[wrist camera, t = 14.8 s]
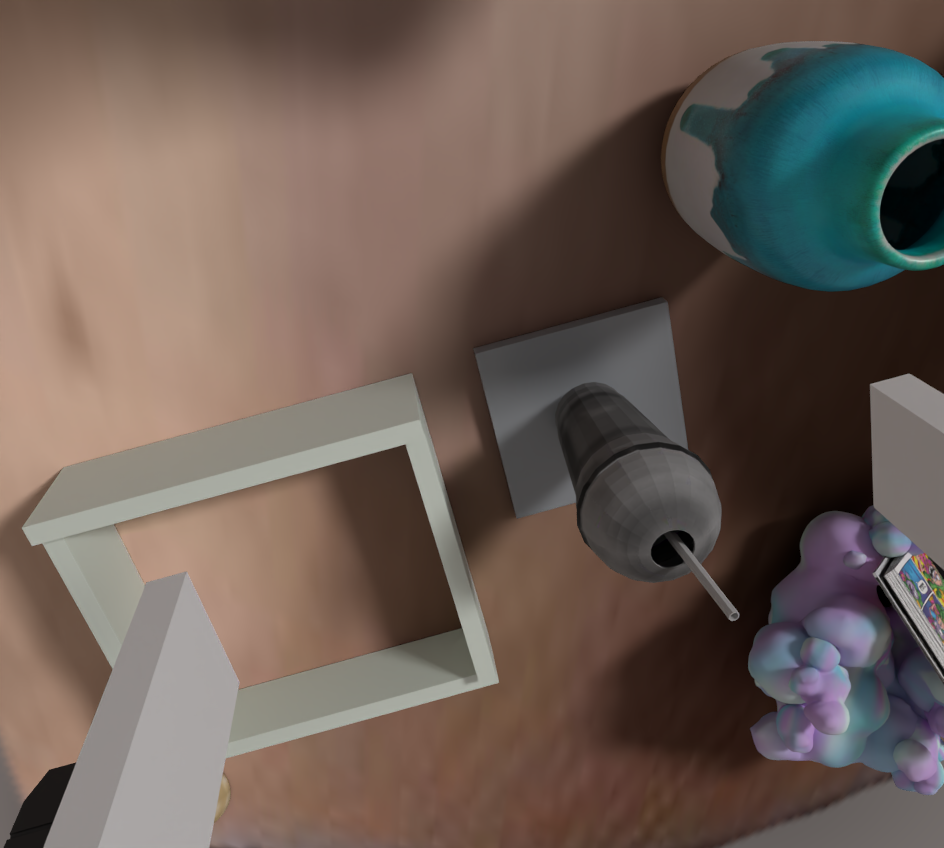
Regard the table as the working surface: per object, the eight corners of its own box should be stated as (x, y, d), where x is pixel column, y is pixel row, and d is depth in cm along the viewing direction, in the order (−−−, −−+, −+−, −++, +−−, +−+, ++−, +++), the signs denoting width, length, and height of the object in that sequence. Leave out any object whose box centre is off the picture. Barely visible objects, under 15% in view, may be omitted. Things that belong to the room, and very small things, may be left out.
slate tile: (472, 348, 51) (475, 353, 50) (661, 297, 51) (667, 301, 50) (514, 510, 56) (517, 518, 55) (685, 464, 56) (691, 470, 55)
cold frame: (63, 467, 51) (21, 528, 45) (411, 372, 51) (419, 419, 45) (192, 716, 60) (173, 795, 54) (488, 634, 60) (504, 704, 54)
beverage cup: (562, 345, 50) (676, 514, 32) (665, 382, 52) (827, 562, 34) (515, 447, 53) (595, 657, 35) (614, 479, 55) (740, 694, 37)
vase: (723, 271, 51) (912, 388, 34) (599, 159, 47) (739, 227, 30) (852, 127, 48) (1129, 174, 31) (731, -3, 45) (968, -32, 27)
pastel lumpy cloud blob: (663, 722, 60) (895, 939, 48) (782, 463, 51) (1101, 654, 39) (808, 647, 72) (1017, 803, 61) (922, 430, 64) (1193, 565, 52)
